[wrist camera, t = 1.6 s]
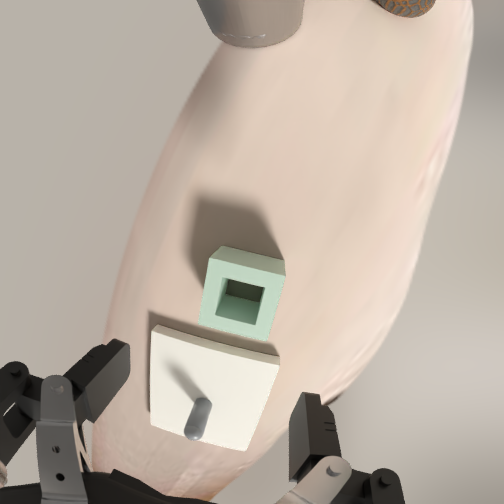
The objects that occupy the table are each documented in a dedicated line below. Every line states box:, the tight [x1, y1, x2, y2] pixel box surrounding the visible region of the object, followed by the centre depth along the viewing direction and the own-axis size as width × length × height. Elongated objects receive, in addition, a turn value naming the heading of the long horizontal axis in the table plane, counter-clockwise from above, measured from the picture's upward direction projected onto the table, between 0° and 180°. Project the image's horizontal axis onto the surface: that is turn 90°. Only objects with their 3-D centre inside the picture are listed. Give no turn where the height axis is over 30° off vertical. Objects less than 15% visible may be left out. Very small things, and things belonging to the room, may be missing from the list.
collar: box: [198, 245, 286, 341], centre depth 22 cm, size 6×6×4 cm
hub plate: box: [150, 324, 280, 451], centre depth 24 cm, size 16×13×7 cm
